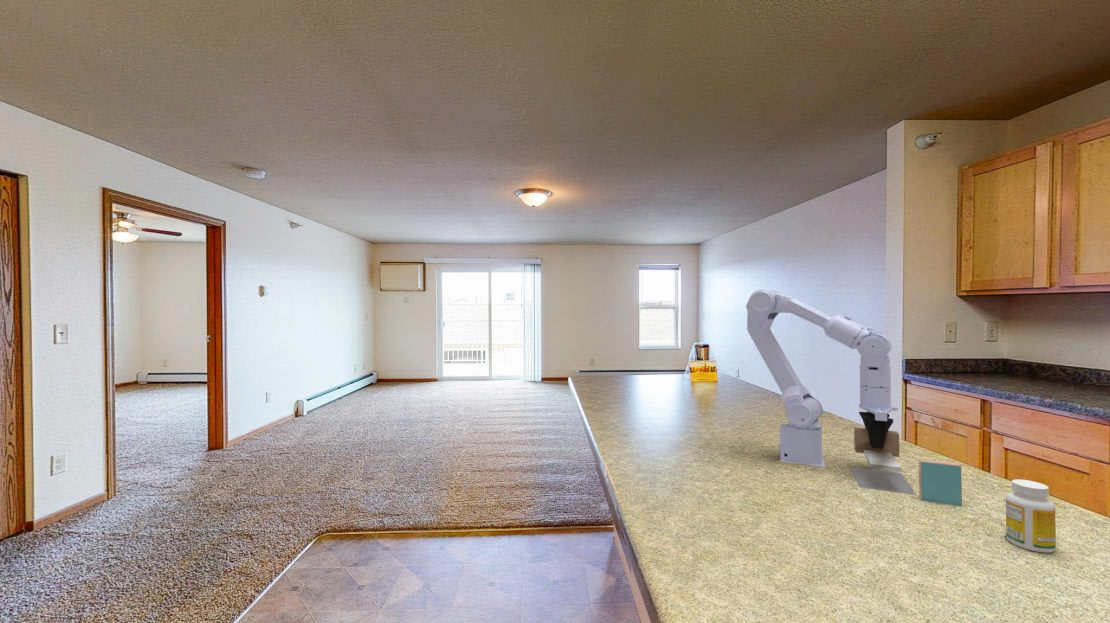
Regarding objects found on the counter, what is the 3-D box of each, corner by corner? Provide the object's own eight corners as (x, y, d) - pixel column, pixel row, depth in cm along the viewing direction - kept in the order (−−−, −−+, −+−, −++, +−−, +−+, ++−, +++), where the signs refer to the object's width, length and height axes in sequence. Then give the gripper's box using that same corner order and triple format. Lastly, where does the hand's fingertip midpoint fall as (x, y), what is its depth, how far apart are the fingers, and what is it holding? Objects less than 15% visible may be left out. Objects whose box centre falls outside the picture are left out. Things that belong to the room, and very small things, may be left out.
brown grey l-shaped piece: (862, 466, 93) (861, 442, 93) (854, 448, 104) (854, 427, 104) (910, 472, 90) (909, 447, 90) (896, 453, 101) (896, 431, 100)
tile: (921, 503, 86) (920, 461, 86) (919, 500, 88) (918, 459, 88) (962, 509, 83) (961, 466, 83) (959, 505, 85) (958, 463, 85)
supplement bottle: (1004, 544, 71) (1002, 483, 71) (1008, 533, 74) (1007, 475, 74) (1055, 558, 67) (1053, 493, 67) (1057, 545, 70) (1056, 484, 70)
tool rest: (858, 489, 93) (858, 486, 93) (850, 469, 105) (850, 466, 105) (916, 497, 89) (916, 494, 89) (901, 475, 101) (901, 473, 101)
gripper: (904, 392, 93) (905, 457, 93) (890, 382, 106) (891, 440, 106) (863, 390, 96) (864, 453, 96) (854, 380, 109) (855, 436, 109)
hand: (875, 446), depth 101 cm, fingers closed on brown grey l-shaped piece, 2 cm apart
